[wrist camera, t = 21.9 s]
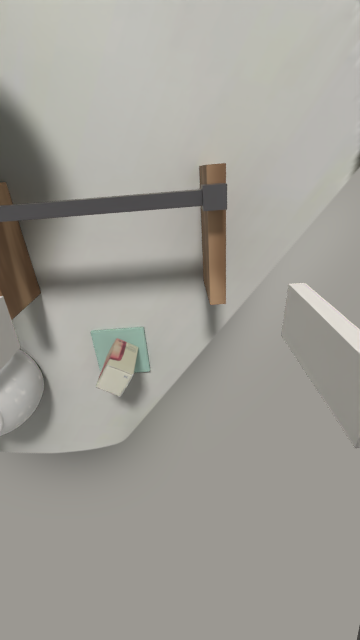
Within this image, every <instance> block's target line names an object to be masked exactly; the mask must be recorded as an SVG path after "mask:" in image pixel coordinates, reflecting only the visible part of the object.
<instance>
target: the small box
mask: <svg viewBox="0 0 360 640" xmlns="http://www.w3.org/2000/svg"><path fill="white" fill-rule="evenodd" d="M137 353H138V347H137V346H135V345H132V344H130V343H128V342H125V341H123V340H121V339H118V338H116V340H115V342H114V343H113V345H112V347H111V349H110V351H109V353H108V355H107V357H106V360H105V362H104V365H103V368H102V371H101V374H100V376H99V379H98V382H97V385H96V388H99V389H101V390H104V391H106V392H109V393H111V394H114V395H116V396H119V397H120V396H121V395H122V394H123V392H124V390H125V389H126V387H127V386H128V384H129V382H130V380H131V379H132V377H133V374H134V369H135V363H136V358H137Z"/></svg>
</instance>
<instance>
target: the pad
mask: <svg viewBox="0 0 360 640" xmlns="http://www.w3.org/2000/svg"><path fill="white" fill-rule="evenodd" d="M91 336H92V340H93V344H94V348H95V352H96V356H97V360H98V364H99V368H100V372H101V371H102V368H103V365H104V362H105V360H106V357H107V355H108V353H109V351H110V349H111V347H112V345H113V343H114V342H115V340H116V338H118V339H121V340H123V341H125V342H128V343H130V344H132V345H135V346H137V347H138V353H137V358H136V363H135V369H134V372H148V371H150V365H149V358H148V352H147V345H146V338H145V332H144V327H136V328H122V329H108V330H95V331H91Z"/></svg>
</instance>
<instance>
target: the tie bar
mask: <svg viewBox="0 0 360 640" xmlns="http://www.w3.org/2000/svg"><path fill="white" fill-rule="evenodd" d="M193 206H201V208H202V210H203V211H214V210H227V184H226V183H215V184H202V185H201V189H198V190H186V191H173V192H161V193H149V194H137V195H124V196H112V197H100V198H87V199H75V200H63V201H51V202H38V203H26V204H14V205H1V206H0V222H7V221H19V220H32V219H44V218H57V217H69V216H82V215H94V214H106V213H119V212H131V211H144V210H156V209H168V208H181V207H193Z"/></svg>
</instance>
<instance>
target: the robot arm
mask: <svg viewBox="0 0 360 640" xmlns="http://www.w3.org/2000/svg"><path fill="white" fill-rule="evenodd" d="M281 336H282V338H283V339H284V341H285V342H286V344H287V345H288V347H289V348H290V350H291V351H292V353H293V354H294V356H295V357H296V359H297V360H298V362H299V363H300V365H301V367H302V368H303V370H304V371H305V373H306V374H307V376H308V377H309V379H310V380H311V382H312V383H313V385H314V386H315V388H316V389H317V391H318V393H319V394H320V396H321V397H322V398H323V400H324V402H325V403H326V405H327V406H328V408H329V409H330V411H331V412H332V414H333V415H334V417H335V418H336V420H337V422H338V423H339V424H340V426H341V428H342V429H343V431H344V432H345V434H346V435H347V437H348V438H349V440H350V441H351V443H352V444H353V446H354V447H355V448H360V330H359V329H358V328H357V327H356V326H355V325H354V324H353V323H351V322H350V321H349V320H348V319H347V318H346V317H344V316H343V315H342V314H341V313H340V312H338V311H337V310H336V309H335V308H334V307H333V306H331V305H330V304H329V303H328V302H327V301H325V300H324V299H323V298H322V297H321V296H320V295H319V294H317V293H316V292H315V291H314V290H313V289H312V288H310V287H309V286H308V285H307V284H306V283H295V284H288V291H287V298H286V306H285V312H284V319H283V325H282V332H281ZM20 347H21V346H20V343H19V340H18V337H17V334H16V332H15V329H14V326H13V323H12V320H11V317H10V314H9V311H8V309H7V306H6V303H5V300H4V297H3V296H0V370H1V369H2V368H3V367H4V366H5V365H6V363H7V362H8V361H9V360H10V359H11V358H12V356H13V355H14V354H15V353H16V352H17V351H18V349H19V348H20ZM357 640H360V627H359V632H358V637H357Z"/></svg>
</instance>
